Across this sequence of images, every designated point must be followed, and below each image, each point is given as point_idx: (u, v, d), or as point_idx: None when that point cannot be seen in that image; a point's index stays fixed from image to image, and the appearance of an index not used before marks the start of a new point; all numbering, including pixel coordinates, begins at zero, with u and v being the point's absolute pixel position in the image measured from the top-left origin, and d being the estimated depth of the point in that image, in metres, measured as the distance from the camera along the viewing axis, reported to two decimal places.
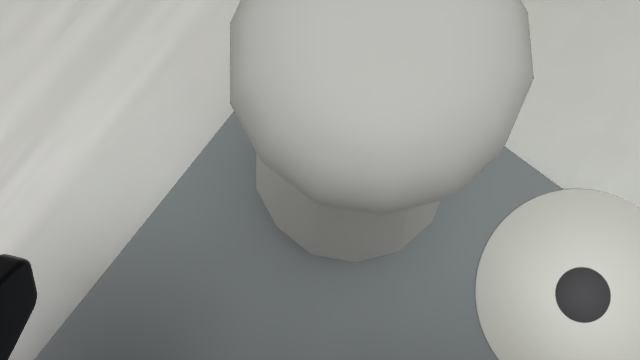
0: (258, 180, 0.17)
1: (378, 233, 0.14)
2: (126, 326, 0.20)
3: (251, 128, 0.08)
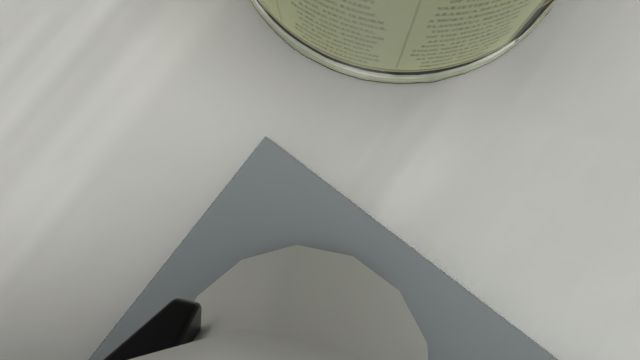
0: None
1: None
2: None
3: None
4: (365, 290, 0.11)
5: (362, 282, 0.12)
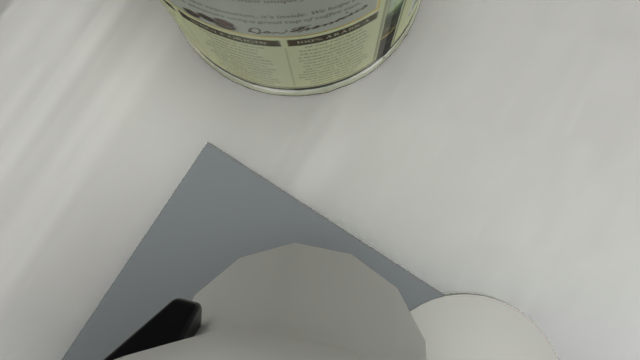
0: None
1: None
2: None
3: None
4: (363, 288, 0.11)
5: (360, 280, 0.12)
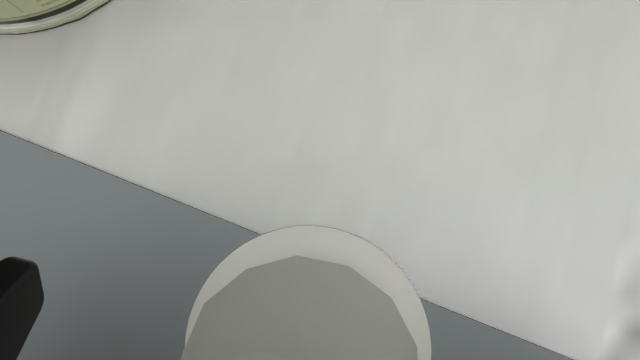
0: None
1: None
2: None
3: None
4: (360, 300, 0.12)
5: (357, 292, 0.13)
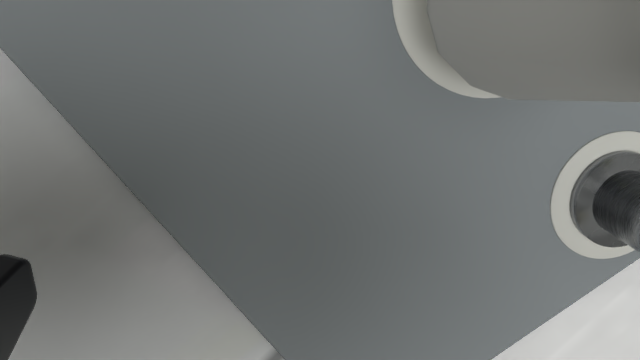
0: None
1: (552, 91, 0.14)
2: None
3: None
4: None
5: None
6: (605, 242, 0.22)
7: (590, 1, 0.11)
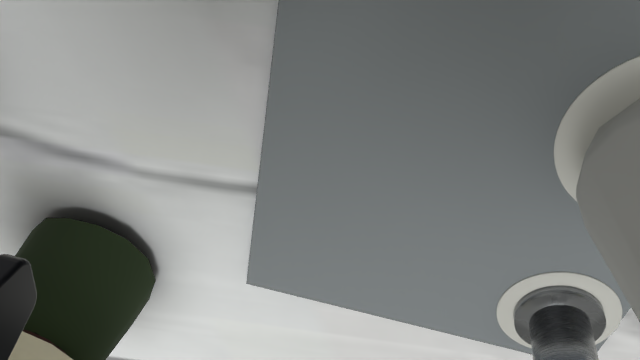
0: None
1: (623, 281, 0.16)
2: None
3: None
4: None
5: None
6: (520, 331, 0.26)
7: None
